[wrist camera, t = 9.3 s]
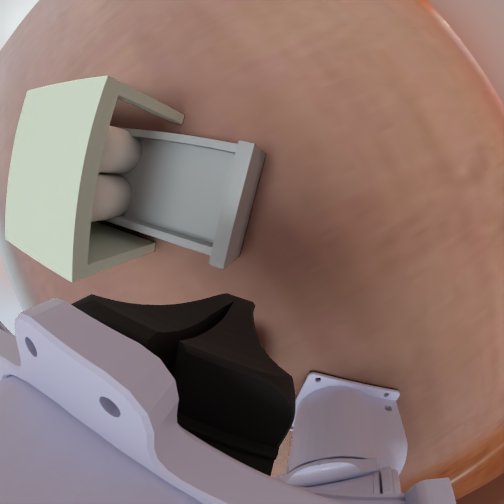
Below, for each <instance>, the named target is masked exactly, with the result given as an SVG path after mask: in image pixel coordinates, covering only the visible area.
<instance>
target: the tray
mask: <svg viewBox="0 0 504 504" xmlns="http://www.w3.org/2000/svg"><path fill="white" fill-rule="evenodd" d="M265 155H266V153H264V152H263V151H262V150H261V149H260V148H259V147H258V146H257V145H256V144H254V143H249V142H245V141H240V140H239V142H238V144H235V143H230V142H224V141H219V140H213V139H208V138H202V137H196V136H189V135H182V134H175V133H167V132H159V131H151V130H141V129H130V128H117V127H113V126H110V125H109V129H108V133H107V137H106V141H105V145H104V149H103V154H102V158H101V163H100V168H99V173H98V179H97V184H96V190H95V197H94V203H93V211H92V219H91V222H94V221H100V220H105V221H108V222H111V223H114V224H117V225H120V226H123V227H126V228H129V229H132V230H135V231H138V232H141V233H143V234H146V235H149V236H152V237H155V238H158V239H161V240H164V241H167V242H170V243H173V244H176V245H179V246H182V247H186V248H189V249H192V250H195V251H198V252H201V253H204V254H207V255H210V260H209V265H212V266H215V267H218V268H221V269H224V268H225V267H226V266H228V265H229V264H230V263H231V262H233V261H234V260H235V259H236V258H238V257H239V255H240V251H241V248H242V244H243V240H244V236H245V232H246V228H247V224H248V220H249V216H250V213H251V209H252V205H253V201H254V197H255V193H256V189H257V186H258V182H259V178H260V174H261V170H262V167H263V163H264V159H265Z"/></svg>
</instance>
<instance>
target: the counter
mask: <svg viewBox="0 0 504 504" xmlns="http://www.w3.org/2000/svg"><path fill="white" fill-rule="evenodd" d="M117 99H120V100H122V101H125V102H127V103H130V104H132V105H134V106H137V107H139V108H141V109H144V110H146V111H148V112H151V113H153V114H155V115H157V116H160V117H162V118H164V119H166V120H168V121H170V122H173V123H177V124H182V123H183V119H184V116H185V115H183V114H181V113H180V112H178V111H176V110H174V109H172V108H171V107H169V106H167V105H165V104H163V103H161V102H160V101H158V100H156V99H154V98H152V97H150V96H148V95H146V94H144V93H142V92H140V91H139V90H137V89H135V88H133V87H131V86H129V85H126V84H124V83H122V82H120V81H118V80H116V79H114V78H112V77H110V76H101V77H93V78H86V79H79V80H73V81H68V82H63V83H58V84H53V85H48V86H44V87H40V88H36V89H32V90H28V91H27V95H26V98H25V101H24V104H23V108H22V111H21V115H20V119H19V123H18V127H17V132H16V136H15V141H14V146H13V151H12V157H11V163H10V170H9V178H8V187H7V198H6V214H5V239H6V240H8V241H9V242H10V243H12V244H13V245H15V246H16V247H17V248H19V249H20V250H22V251H23V252H25V253H26V254H27V255H29V256H30V257H32V258H33V259H35V260H36V261H38V262H40V263H41V264H43V265H44V266H46V267H47V268H49V269H51V270H52V271H54V272H55V273H57V274H59V275H60V276H62V277H64V278H65V279H67V280H69V281H70V282H75V281H77V280H80V279H82V278H85V277H88V276H90V275H93V274H95V273H98V272H100V271H103V270H106V269H108V268H111V267H113V266H116V265H119V264H121V263H124V262H127V261H129V260H132V259H135V258H138V257H140V256H143V255H146V254H148V253H151V252H154V250H155V244H156V243H155V242H152V241H149V240H146V239H143V238H141V237H138V236H135V235H132V234H129V233H126V232H123V231H121V230H118V229H115V228H112V227H109V226H107V225H104V224H101V223H98V222H95V221H94V222H91V219H92V211H93V203H94V197H95V190H96V184H97V179H98V173H99V168H100V163H101V158H102V154H103V149H104V145H105V141H106V137H107V133H108V129H109V125H110V122H111V118H112V115H113V111H114V108H115V105H116V101H117Z"/></svg>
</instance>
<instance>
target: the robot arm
mask: <svg viewBox="0 0 504 504" xmlns="http://www.w3.org/2000/svg"><path fill="white" fill-rule="evenodd" d="M254 308H255V305H254V303H253V302H251V301H248V300H245V299H242V298H239V297H236V296H233V295H230V294H227V293H226V294H221V295H217V296H213V297H210V298H206V299H202V300H198V301H193V302H187V303H182V304H173V305H141V304H132V303H125V302H119V301H114V300H110V299H107V298H103V297H99V296H95V295H92V294H91V295H89V296H87V297H85V298H83V299H81V300H79V301H77V302H75V303H73V304H69V303H68V302H66V301H63V300H60V299H56V298H52V299H50V300H48V301H46V302H43V303H41V304H39V305H37V306H34V307H32V308H30V309H28V310H26V311H23V312H21V313H20V314H19V316H18V317H17V318H16V320H15V336H14V335H13V334H12V333H11V332H10V331H9V330H8V329H7V328H6V327H5V326H4V325H3V324H2V323H1V322H0V504H456V501H455V497H454V493H453V490H452V486H451V482H450V479H449V478H438V479H427V480H422V481H420V482H418V483H416V484H414V485H413V486H412V487H411V488H409V489H408V490H407V491H406V492H405V493H401V488H400V482H399V474H400V472H401V471H402V469H403V467H404V464H405V461H406V457H407V448H408V446H407V439H406V435H405V431H404V427H403V424H402V420H401V417H400V413H399V410H398V407H397V403H396V400H397V399H398V397H399V396H400V393H399V391H398V390H393V389H387V388H382V387H377V386H372V385H367V384H362V383H358V382H353V381H349V380H344V379H340V378H336V377H332V376H328V375H324V374H320V373H316V372H311V373H309V374H308V376H307V378H306V380H305V382H304V384H303V386H302V388H301V390H300V392H299V394H298V396H297V398H296V400H295V390H294V384H293V379H292V376H291V375H289V374H288V373H287V372H285V371H284V370H283V369H282V368H280V367H279V366H278V365H277V364H276V363H275V362H274V361H273V360H272V359H271V358H270V357H269V355H268V354H267V353H266V351H265V350H264V348H263V347H262V345H261V343H260V341H259V338H258V336H257V333H256V329H255V325H254V318H253V311H254ZM316 378H321V379H319V380H317V379H316ZM385 393H387V394H385ZM291 426H293V427H291ZM289 430H291V431H293V436H292V442H291V448H290V454H289V459H288V465H287V470H286V475H283V476H278V477H276V479H275V478H273V477H271V476H270V475H271V471H272V467H273V463H274V460H275V459H276V457H277V455H278V450H279V446H280V444H281V443H282V441H283V440H284V438H285V436H286V435H287V433H288V431H289Z"/></svg>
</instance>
